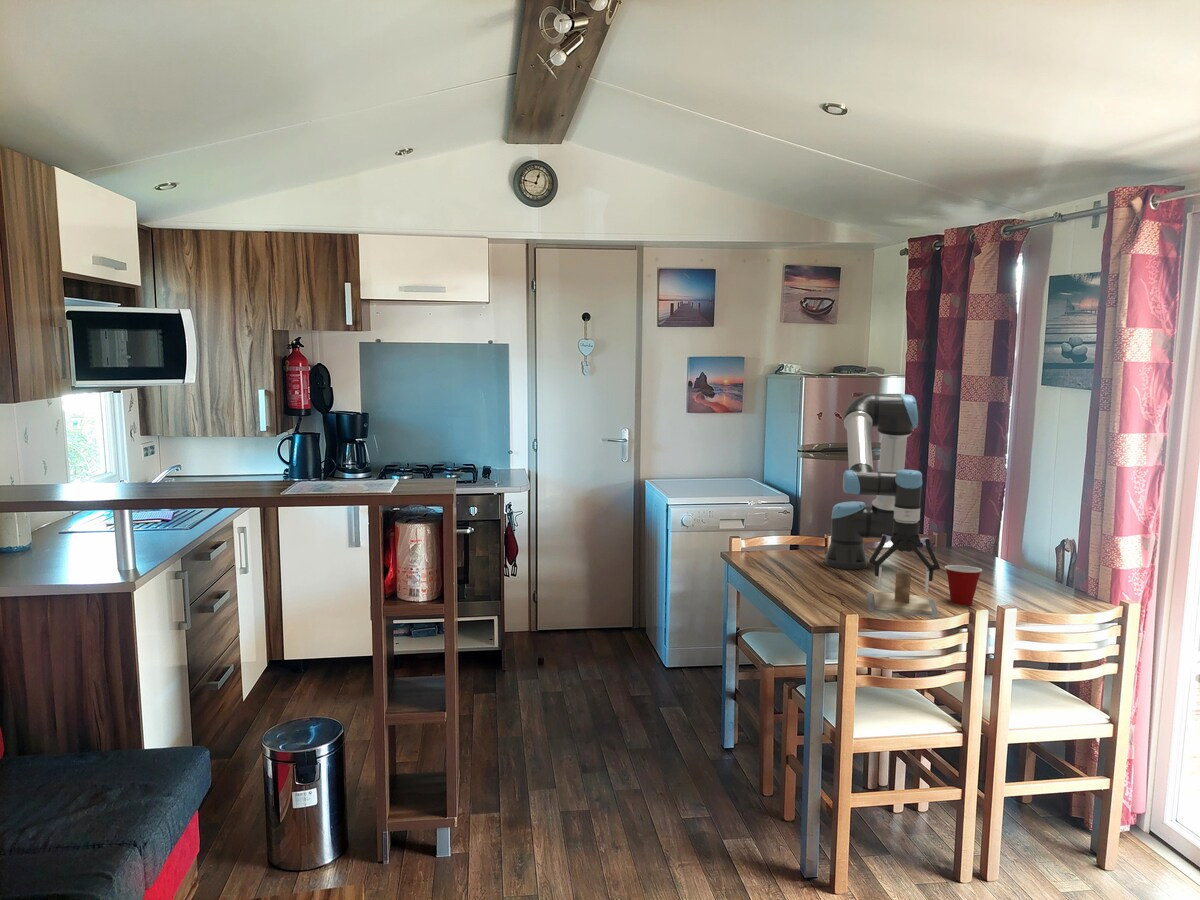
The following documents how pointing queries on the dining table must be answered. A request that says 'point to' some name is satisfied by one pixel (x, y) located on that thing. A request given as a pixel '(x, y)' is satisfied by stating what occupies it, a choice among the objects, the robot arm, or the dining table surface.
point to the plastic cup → (962, 583)
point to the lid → (902, 598)
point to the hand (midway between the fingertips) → (902, 589)
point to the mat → (872, 608)
